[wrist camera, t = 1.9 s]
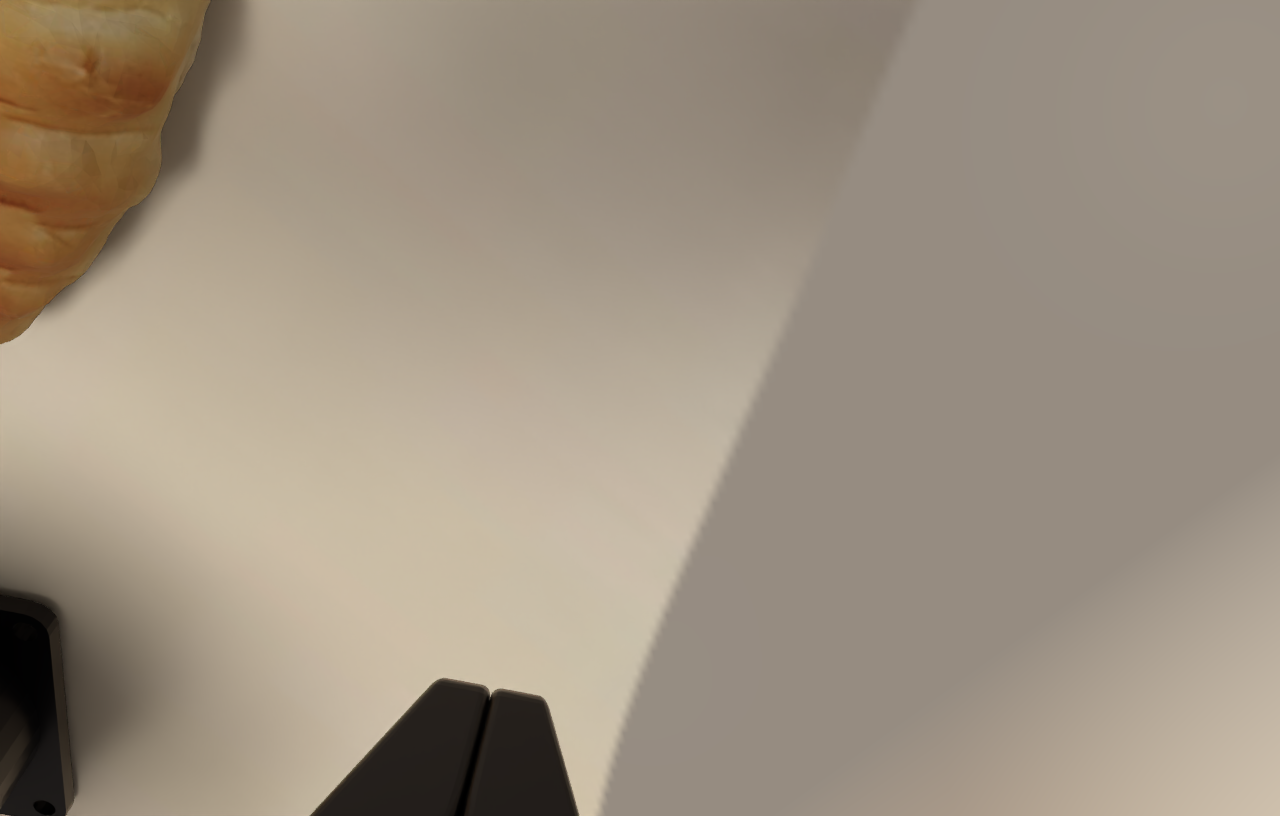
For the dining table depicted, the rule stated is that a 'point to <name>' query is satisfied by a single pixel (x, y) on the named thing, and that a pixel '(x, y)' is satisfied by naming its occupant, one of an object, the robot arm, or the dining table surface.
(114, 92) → the pastry
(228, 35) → the dining table surface
